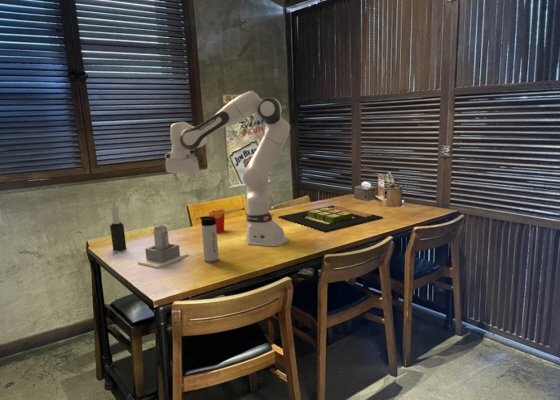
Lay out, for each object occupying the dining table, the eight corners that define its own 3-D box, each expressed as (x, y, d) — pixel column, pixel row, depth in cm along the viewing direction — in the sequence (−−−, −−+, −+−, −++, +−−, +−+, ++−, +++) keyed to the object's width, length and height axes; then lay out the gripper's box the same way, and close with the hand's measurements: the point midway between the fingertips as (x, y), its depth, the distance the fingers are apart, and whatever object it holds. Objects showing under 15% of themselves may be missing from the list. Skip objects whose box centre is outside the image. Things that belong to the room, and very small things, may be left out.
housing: (188, 255, 187) (187, 243, 185) (158, 268, 172) (156, 255, 170) (168, 251, 193) (167, 239, 192) (137, 263, 178) (136, 250, 177)
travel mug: (204, 258, 181) (200, 215, 178) (219, 257, 182) (215, 214, 178) (203, 263, 175) (199, 219, 171) (218, 262, 176) (214, 218, 172)
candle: (118, 251, 198) (112, 201, 193) (112, 250, 200) (105, 200, 195) (127, 248, 202) (121, 199, 197) (120, 247, 204) (114, 198, 200)
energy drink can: (162, 254, 186) (159, 223, 183) (173, 256, 184) (169, 224, 181) (153, 259, 181) (150, 226, 178) (164, 260, 178) (160, 227, 176)
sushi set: (383, 219, 239) (383, 212, 238) (325, 233, 215) (325, 225, 214) (332, 207, 276) (332, 201, 275) (278, 219, 251) (278, 212, 250)
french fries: (211, 233, 222) (209, 210, 220) (209, 231, 226) (207, 209, 223) (227, 230, 226) (225, 208, 224) (224, 229, 230) (223, 207, 228)
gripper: (200, 154, 199) (203, 181, 202) (171, 153, 210) (174, 180, 213) (191, 155, 194) (194, 183, 197) (162, 155, 205) (165, 181, 208)
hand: (183, 181), depth 205 cm, fingers open, 8 cm apart
